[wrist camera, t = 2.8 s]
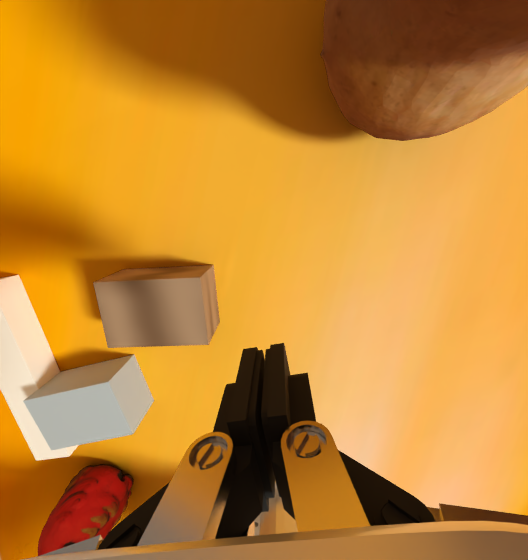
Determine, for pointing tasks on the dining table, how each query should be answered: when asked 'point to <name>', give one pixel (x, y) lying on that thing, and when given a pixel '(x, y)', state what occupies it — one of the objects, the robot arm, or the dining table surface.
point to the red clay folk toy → (87, 508)
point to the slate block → (91, 403)
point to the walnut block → (158, 306)
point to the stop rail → (24, 362)
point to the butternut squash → (423, 62)
